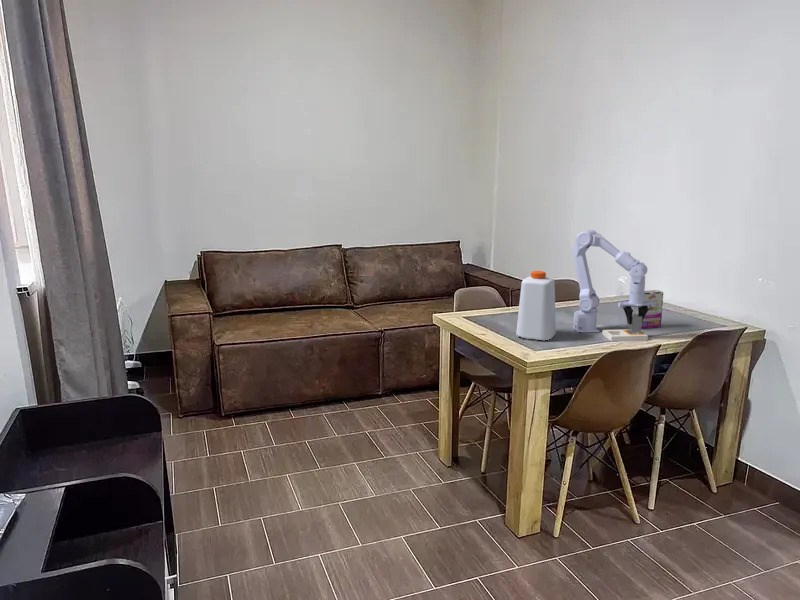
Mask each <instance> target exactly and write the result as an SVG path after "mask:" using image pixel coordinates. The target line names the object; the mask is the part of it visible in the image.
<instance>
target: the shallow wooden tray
mask: <svg viewBox="0 0 800 600" xmlns="http://www.w3.org/2000/svg"><path fill="white" fill-rule="evenodd" d="M601 334H602V335H603V336H604V337H605V338H606V339H607V340H610V342H633V341H639V342H641V341H648V340H649V335H647V334H646V333H645V332H643V331H642V330H641V333H631V332H629V331H628V328H627V329H625V328H624V329H602V332H601ZM640 340H641V341H640Z"/></svg>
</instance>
